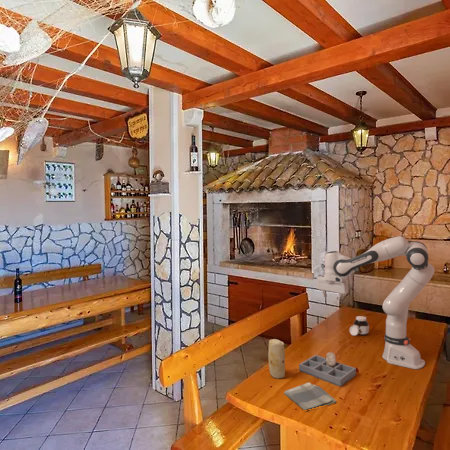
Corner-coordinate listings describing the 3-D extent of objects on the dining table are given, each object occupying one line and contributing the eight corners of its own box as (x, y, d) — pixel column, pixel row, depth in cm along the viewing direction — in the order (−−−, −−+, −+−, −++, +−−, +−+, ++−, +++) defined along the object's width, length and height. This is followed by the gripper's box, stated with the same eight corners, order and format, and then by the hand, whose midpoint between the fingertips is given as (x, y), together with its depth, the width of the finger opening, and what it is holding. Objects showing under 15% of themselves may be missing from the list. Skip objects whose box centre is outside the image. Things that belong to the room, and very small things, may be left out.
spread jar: (369, 333, 255) (369, 317, 254) (366, 338, 246) (366, 321, 245) (352, 330, 262) (352, 314, 261) (348, 335, 252) (348, 319, 251)
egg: (337, 368, 201) (337, 352, 200) (332, 372, 198) (332, 355, 197) (329, 366, 205) (329, 349, 204) (324, 369, 201) (324, 352, 201)
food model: (287, 376, 196) (287, 340, 195) (281, 381, 191) (281, 344, 189) (271, 371, 202) (271, 336, 200) (265, 376, 196) (265, 340, 195)
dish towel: (305, 413, 162) (305, 407, 162) (283, 394, 179) (283, 388, 178) (337, 403, 170) (337, 397, 170) (314, 386, 186) (314, 380, 186)
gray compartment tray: (355, 375, 196) (355, 368, 195) (340, 386, 184) (340, 379, 183) (315, 361, 213) (315, 354, 213) (299, 370, 202) (299, 364, 201)
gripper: (314, 275, 231) (314, 296, 232) (344, 279, 217) (344, 302, 218) (319, 273, 236) (319, 294, 237) (349, 278, 221) (349, 300, 222)
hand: (331, 298), depth 227 cm, fingers open, 8 cm apart
